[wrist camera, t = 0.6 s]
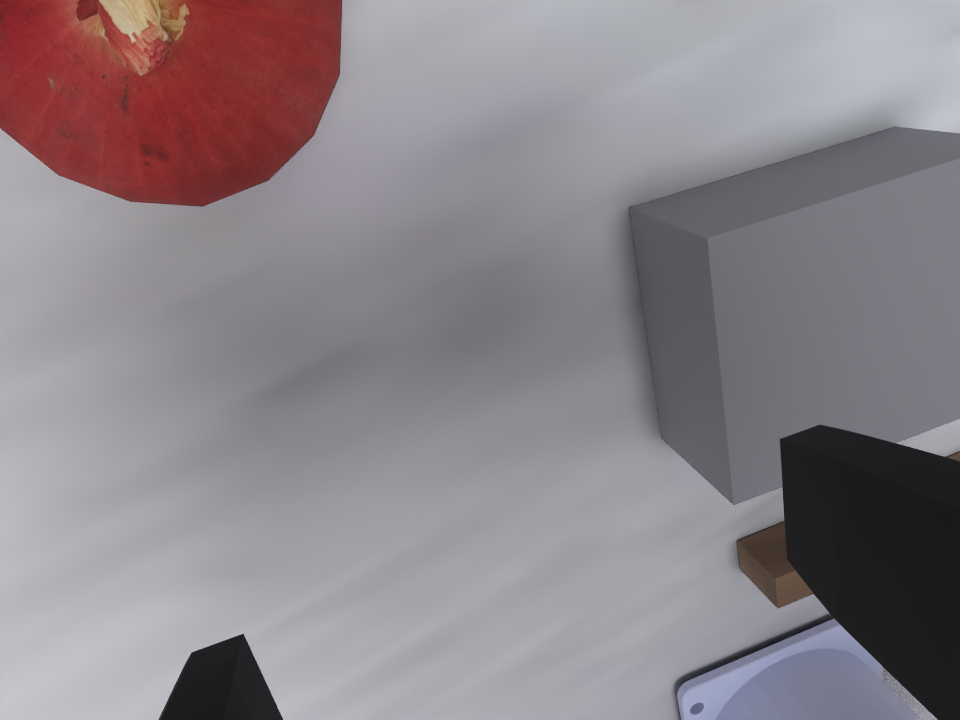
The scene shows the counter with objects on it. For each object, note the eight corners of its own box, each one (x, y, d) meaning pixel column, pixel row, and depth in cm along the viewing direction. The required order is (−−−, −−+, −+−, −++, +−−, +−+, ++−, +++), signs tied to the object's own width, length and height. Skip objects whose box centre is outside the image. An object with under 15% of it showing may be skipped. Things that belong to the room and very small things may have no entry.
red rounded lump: (-30, 91, 15) (-295, 121, 8) (68, -216, 14) (-137, -523, 6) (260, 215, 17) (267, 329, 10) (367, -37, 16) (463, -116, 9)
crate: (886, 351, 24) (999, 403, 20) (657, 434, 23) (733, 505, 19) (887, 126, 21) (1018, 139, 17) (624, 205, 20) (707, 238, 16)
